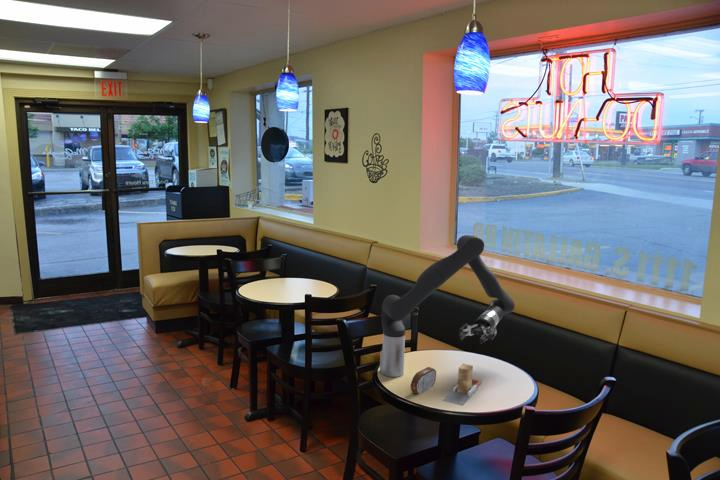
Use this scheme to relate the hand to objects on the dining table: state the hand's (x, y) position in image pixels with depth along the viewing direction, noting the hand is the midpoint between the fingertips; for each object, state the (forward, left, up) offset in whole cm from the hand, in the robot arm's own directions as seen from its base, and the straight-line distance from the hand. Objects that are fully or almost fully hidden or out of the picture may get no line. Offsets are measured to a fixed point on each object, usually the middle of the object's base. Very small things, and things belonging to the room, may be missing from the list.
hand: (470, 339), depth 216 cm
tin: (-13, -13, -20) cm, 27 cm away
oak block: (+1, -6, -19) cm, 20 cm away
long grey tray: (+1, -7, -20) cm, 21 cm away
